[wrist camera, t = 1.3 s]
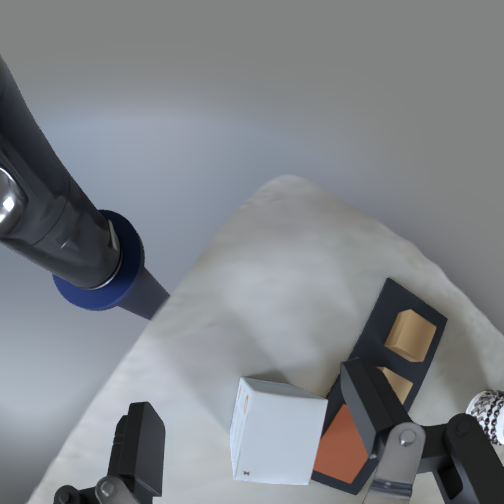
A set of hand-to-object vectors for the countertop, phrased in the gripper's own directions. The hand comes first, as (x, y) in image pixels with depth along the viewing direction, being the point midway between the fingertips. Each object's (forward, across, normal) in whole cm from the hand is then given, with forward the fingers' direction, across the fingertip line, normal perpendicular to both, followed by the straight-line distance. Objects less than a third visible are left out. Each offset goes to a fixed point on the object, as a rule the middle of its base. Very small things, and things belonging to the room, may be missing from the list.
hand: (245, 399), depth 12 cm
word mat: (+14, -14, +23) cm, 31 cm away
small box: (+14, +1, +20) cm, 25 cm away
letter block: (+18, -19, +19) cm, 33 cm away
